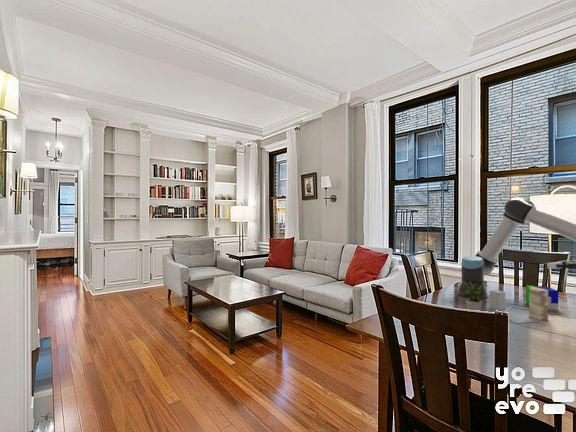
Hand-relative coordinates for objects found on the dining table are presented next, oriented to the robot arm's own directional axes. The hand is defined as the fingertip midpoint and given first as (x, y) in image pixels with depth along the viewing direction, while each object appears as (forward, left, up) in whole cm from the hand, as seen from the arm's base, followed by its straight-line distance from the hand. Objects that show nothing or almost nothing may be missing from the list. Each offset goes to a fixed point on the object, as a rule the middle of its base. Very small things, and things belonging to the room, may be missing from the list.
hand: (548, 265), depth 148 cm
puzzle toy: (-11, +17, -25) cm, 32 cm away
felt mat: (-4, -17, -25) cm, 30 cm away
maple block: (-1, -6, -25) cm, 26 cm away
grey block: (-19, -8, -25) cm, 33 cm away
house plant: (-21, -26, -25) cm, 42 cm away
